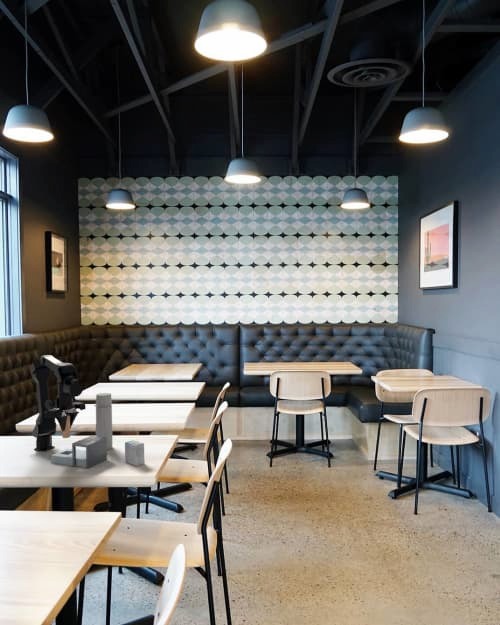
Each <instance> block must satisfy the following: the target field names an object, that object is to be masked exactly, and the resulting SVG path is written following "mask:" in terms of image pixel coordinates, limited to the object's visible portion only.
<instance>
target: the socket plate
mask: <svg viewBox="0 0 500 625" xmlns="http://www.w3.org/2000/svg"><path fill="white" fill-rule="evenodd" d="M50 462H51V463H53V464H60V465H61V464H62V465H68V466H72V448H65V449H64V450H60V451H58V452H56V453H52V454H51V455H50ZM75 467H82V468H83V467H84V468H86V450H82V449H76V466H75Z"/></svg>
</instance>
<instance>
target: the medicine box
mask: <svg viewBox="0 0 500 625" xmlns="http://www.w3.org/2000/svg"><path fill="white" fill-rule="evenodd" d="M124 458H125V463H126V464H129V465H133V466H135V467H138V466H142V465H144V464H145V444H144V443H143V442H140V441H137V440H134V439H133V440H128V441H125V442H124Z"/></svg>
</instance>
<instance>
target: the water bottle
mask: <svg viewBox="0 0 500 625" xmlns="http://www.w3.org/2000/svg"><path fill="white" fill-rule="evenodd" d="M95 396H96V397H95V405H94V407H95V436H98V437H107V451H108V450H110V449H112V448H113V408H112V407H113V405H112V404H113V399H112V393H111V392H99V393H97V394H96V395H95Z"/></svg>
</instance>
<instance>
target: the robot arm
mask: <svg viewBox="0 0 500 625" xmlns="http://www.w3.org/2000/svg"><path fill="white" fill-rule="evenodd" d="M51 371H53V372H54V376H55V377H56V383H57V395H56V396H55V399H54V400H52V399H50V396H49V395H50V393H49V385H48V384H49V383H48V382H49V381H48V380H49V379H50V377H51ZM29 372H30V374H31V378H32V380H33V381H34V382H35V383H36V385H35V386H36V394H37V406H38V415H37V417H36V419H35V425H34V428H33V429H32V436H33V437H34V438H36V440H35V446H36V447H35V448H33V450H34V451H41V452H47V451H49V450H51V449H54V448H56V447H55V445H53V435H56V432H57V427H58V425H59V427H60V430H61V432H62V431H65V427H66V421H67V415H70V430H71V428H72V426H73V424H74V422H75V420H76V418H77V416H78V414H79V413H80V411H83V410H86V404H85V403H84V402H80V401H79V402H77V401H76V402H73V401H74V398H75V397H76V398H77V397H80V395H81V394H82V393H83V390H84V389H83V385H82V384H81V383H79V379H80V378H79V373H78V372H77V370H76V367H75V366H74V365H73V363H70V362H62V361H61V360H59V359H57V358H55V357H54V355H51V354H50V355H49V354H47V355H41V356H40V357H39V359H37V360H35V361H34V362H32V364H31V366H30V367H29ZM77 409H79V411H78V410H77ZM56 420H57V422H58V425H57V422H56Z"/></svg>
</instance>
